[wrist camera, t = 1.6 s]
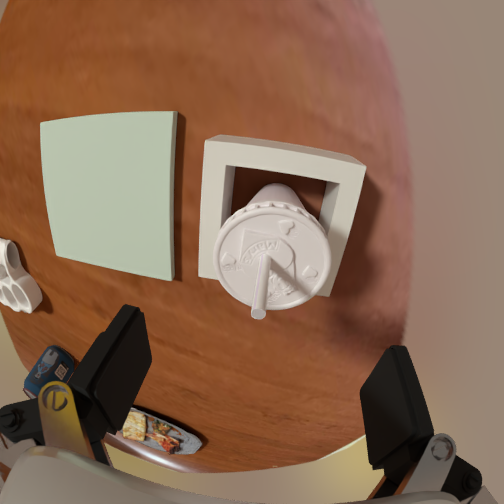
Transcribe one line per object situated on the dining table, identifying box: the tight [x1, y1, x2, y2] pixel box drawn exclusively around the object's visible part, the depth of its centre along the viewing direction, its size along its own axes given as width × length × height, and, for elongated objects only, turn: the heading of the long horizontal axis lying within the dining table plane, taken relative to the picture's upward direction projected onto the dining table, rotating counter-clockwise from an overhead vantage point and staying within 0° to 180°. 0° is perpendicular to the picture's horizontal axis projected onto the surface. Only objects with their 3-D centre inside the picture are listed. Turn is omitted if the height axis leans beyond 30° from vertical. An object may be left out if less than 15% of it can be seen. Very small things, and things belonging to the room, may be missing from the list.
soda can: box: [23, 345, 74, 399], centre depth 36 cm, size 7×7×12 cm
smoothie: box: [213, 183, 331, 319], centre depth 17 cm, size 6×6×14 cm
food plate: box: [120, 407, 202, 455], centre depth 49 cm, size 25×23×4 cm
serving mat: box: [40, 111, 178, 281], centre depth 23 cm, size 16×16×1 cm
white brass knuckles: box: [0, 238, 42, 313], centre depth 31 cm, size 3×18×15 cm
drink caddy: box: [199, 135, 366, 297], centre depth 21 cm, size 10×10×4 cm
